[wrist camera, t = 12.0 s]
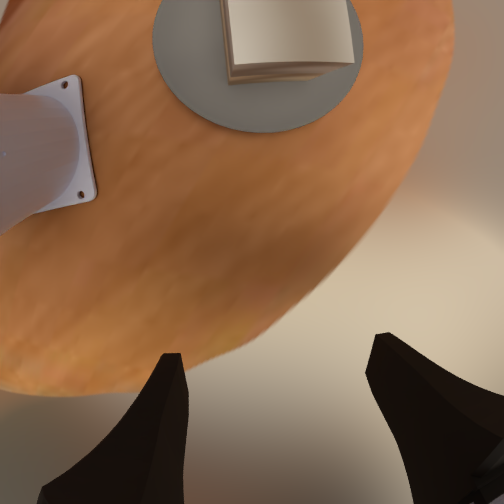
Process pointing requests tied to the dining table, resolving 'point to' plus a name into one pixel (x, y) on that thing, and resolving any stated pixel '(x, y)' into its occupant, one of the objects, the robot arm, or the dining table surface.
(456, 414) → the robot arm
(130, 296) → the dining table surface
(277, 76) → the block
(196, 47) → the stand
